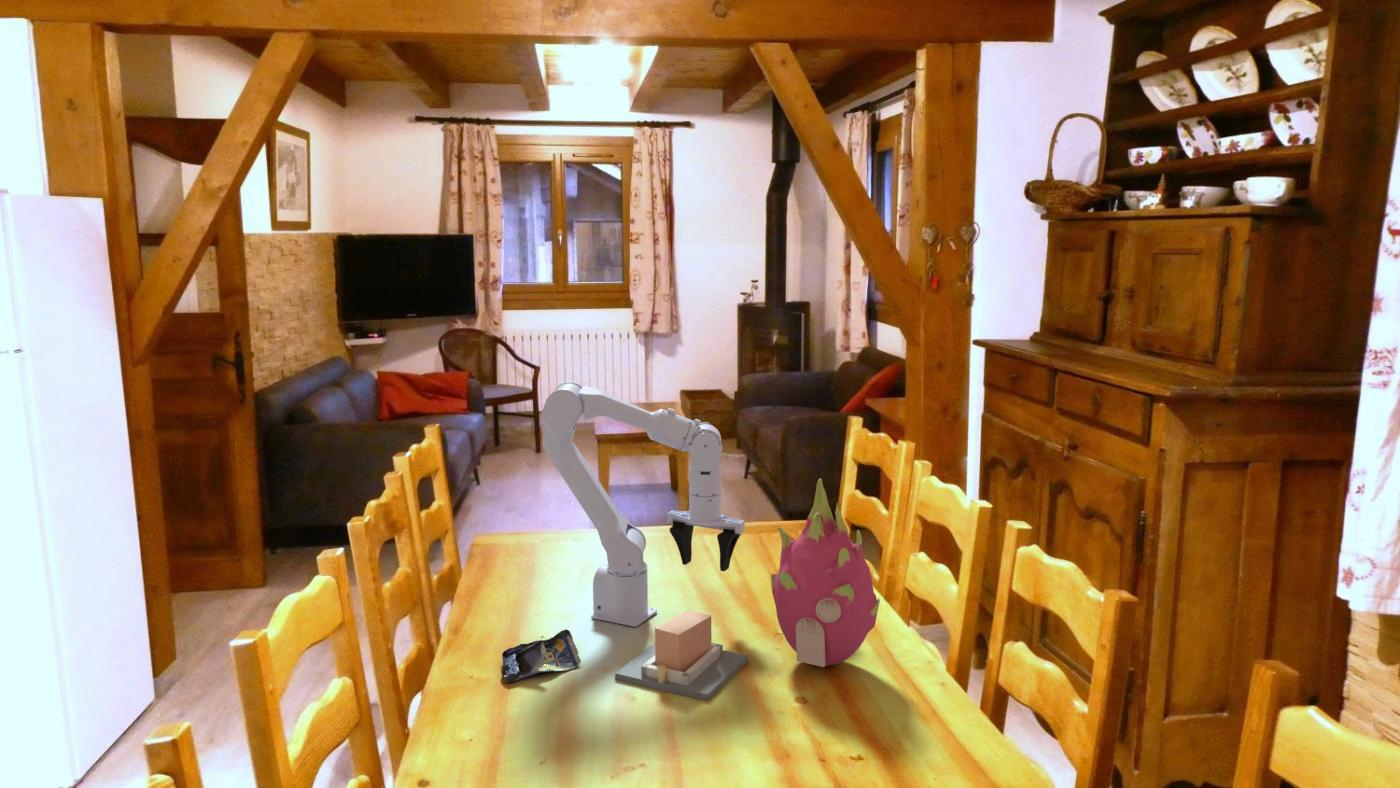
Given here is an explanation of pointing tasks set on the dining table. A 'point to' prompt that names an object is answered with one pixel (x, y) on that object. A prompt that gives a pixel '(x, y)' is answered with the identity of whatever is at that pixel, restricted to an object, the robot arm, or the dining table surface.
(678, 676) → the socket plate
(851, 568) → the pink dragon fruit
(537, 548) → the dining table surface
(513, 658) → the snack package
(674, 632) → the block
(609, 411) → the robot arm
